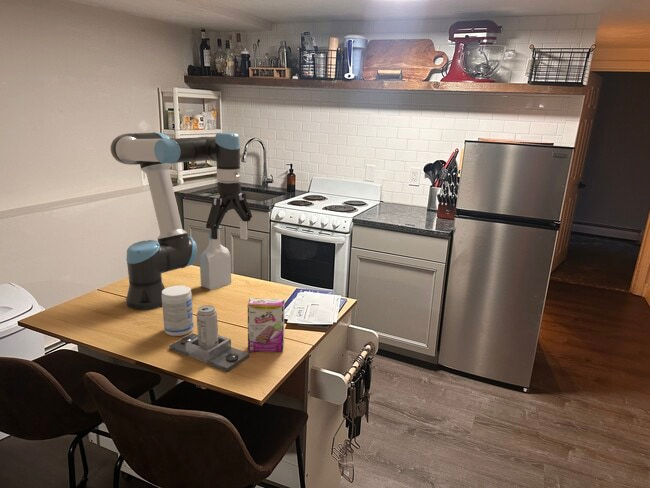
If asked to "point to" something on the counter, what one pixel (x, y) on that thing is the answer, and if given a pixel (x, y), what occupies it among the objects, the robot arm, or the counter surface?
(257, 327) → the candy bar box
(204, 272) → the soap bottle
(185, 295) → the supplement tub
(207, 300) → the counter surface
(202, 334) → the energy drink can
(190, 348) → the grey base plate
